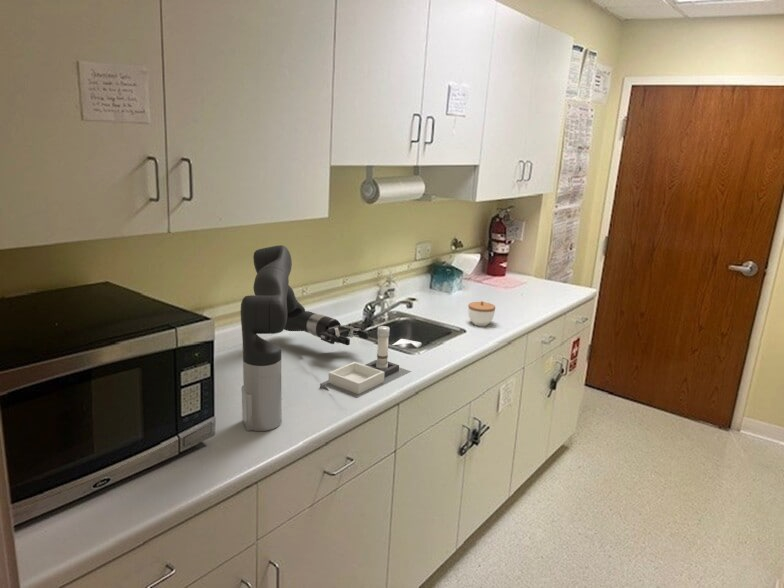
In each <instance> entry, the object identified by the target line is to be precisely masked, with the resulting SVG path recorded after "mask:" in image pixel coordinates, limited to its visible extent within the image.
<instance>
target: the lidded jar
mask: <svg viewBox="0 0 784 588" xmlns="http://www.w3.org/2000/svg"><path fill="white" fill-rule="evenodd" d="M467 306H468V310H467V311H468V317H469V320H470V321H471V323H472V324H473V325H475V326H478V327H486V325H487V326H488V325H489V324H490V323H492V320H493V319H494V317H495V312H496V311H495V310H496V305H494V304H492V303H490V302H484V301H483V300H482V301H472V302H469V303H468V305H467Z"/></svg>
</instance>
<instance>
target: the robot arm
mask: <svg viewBox="0 0 784 588" xmlns="http://www.w3.org/2000/svg"><path fill="white" fill-rule="evenodd" d="M292 261H293V260H292V255H291V253H290V251H289V249H288V248H287V247H286V246H285V245H278V244H277V245H273V246H269V247H263V248H259V249H256V250H255V251H254V252H253V265H254V269H255V272H256V275H255V278H254V281H253V288H252V289H253V293H254V295H252V294H251V295H245V296H244V297H242V300H241V303H240V324H241V336H242V339H241V340H242V374H243V375H242V378H243V380H242V381H243V383H242V384H243V385H242V386H241V407H242V408H241V412H242V414H241V415H242V418H241V419H242V422H243V425H244V427H245V429H246V431H247V432H248V431H256V432H266V431H270V430H274V429H276V428H278V427H279V426H280V425H281V424H282V417H283V416H282V349H281V347H280V346H279V345H278V344H276V343H274V342H271V341H268V340H266V339H264V338H262V337H261V336H259V335H260V334H261V335H275V334H279V333H280V334H281V333H282V332H283V331H287V332H305V333H308V334H310V335H312V336H314V337H316V338H319V339H320V340H321V341H324V342H326V343H328V344H331V345H334V344H342V345H345V346H349V345H351V339H350V338H353V337H359V338H360V339H363V340H368V339H369V332H368V331H366V330H364V327H363V326H361V325H356V324H353V323H348V325H343V324H341V323H340V322H339V320H338V319H336V318H332V317H331V316H327V315H325V314H324V315H323V314H318V313H315V312H311V311H308V310H306V308H305V307H304V306H303V305H302V304H301V303H300V302H299V301H298V299H297V297H296V295H295V292H294V290H293V288H292V287H291V286H290V285H289V284H290V283H289V277H290V274H291V271H292V265H293V264H292Z"/></svg>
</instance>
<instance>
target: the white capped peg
mask: <svg viewBox="0 0 784 588" xmlns="http://www.w3.org/2000/svg"><path fill="white" fill-rule="evenodd" d="M390 330H391V329H390V327H389V326H386V325H380V326H378V327H377V332H376V333H377V336H376V337H377V350H376V351H377V352H376V360H377V363H376V368H379V369H382V370H384V369H387V368H388V363H387V361H388V360H389V359H388V357H389V354H388V353H389V352H388V351H389V337H390Z"/></svg>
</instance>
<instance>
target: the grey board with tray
mask: <svg viewBox="0 0 784 588" xmlns="http://www.w3.org/2000/svg"><path fill="white" fill-rule="evenodd" d="M376 363H377V359H375V360H373V361H370V362H367V363H366V364H364V363H363V364H362V363H360V362H357V361H352V362H351V363H348V364H346V365H343V366H341V367H338V368H336V369H333V370H330V371H329V372H328V380H326V381H323V382H320V384H319V388H321V389H323V390H325V391H328V392H330V391H329V389H328V388H330V389H332V390H335V391H338V392H340V393H343V394H345V395H347V396H350V397H352V398H355V399H357V398H360V397H362V396H364V395H367V394H368V393H370V392H372V391H374V390H375V391H376V390H377V389H379V388H380V387H383V386H385V385H387V384H389V383H391V382H393V381H395V380H397V379H399V378H401V377H403V376H405V375H407V374H410V373H411V372H412V370H408V369H405V368H402V367H400V365H399V364H397V363H393V362H391V361H388V360H387V363H388V368H387V369H384V370H382V369H379V368H376Z"/></svg>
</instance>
